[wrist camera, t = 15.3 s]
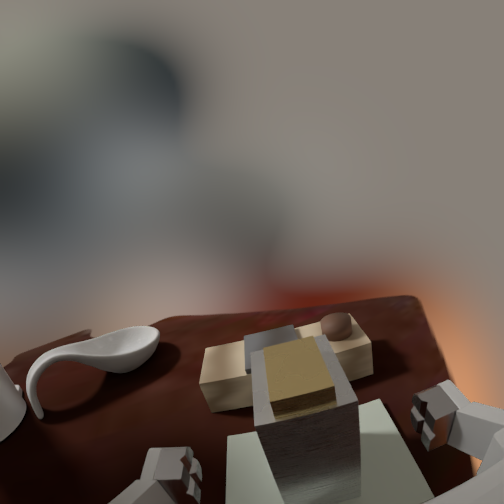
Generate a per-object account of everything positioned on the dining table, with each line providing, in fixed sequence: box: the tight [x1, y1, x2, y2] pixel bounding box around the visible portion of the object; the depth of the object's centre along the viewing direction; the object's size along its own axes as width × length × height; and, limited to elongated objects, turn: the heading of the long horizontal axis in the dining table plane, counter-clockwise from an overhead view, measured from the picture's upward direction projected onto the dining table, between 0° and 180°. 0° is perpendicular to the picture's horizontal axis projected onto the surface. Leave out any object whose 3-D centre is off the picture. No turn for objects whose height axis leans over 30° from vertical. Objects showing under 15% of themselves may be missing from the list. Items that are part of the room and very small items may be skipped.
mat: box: [226, 399, 434, 504], centre depth 19 cm, size 14×12×1 cm
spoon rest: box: [26, 326, 160, 419], centre depth 39 cm, size 24×12×7 cm, turn 140°
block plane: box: [199, 313, 373, 413], centre depth 32 cm, size 17×7×6 cm, turn 92°
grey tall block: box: [250, 334, 361, 504], centre depth 18 cm, size 5×7×11 cm
